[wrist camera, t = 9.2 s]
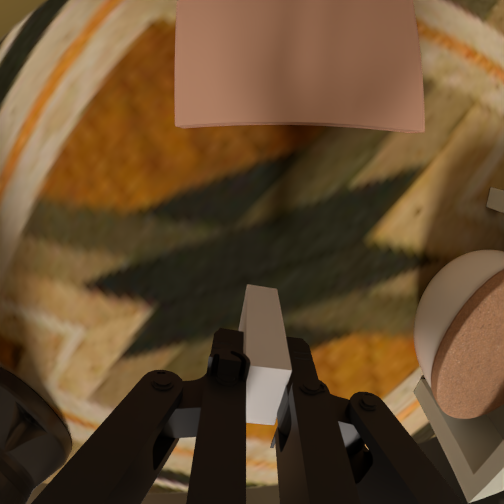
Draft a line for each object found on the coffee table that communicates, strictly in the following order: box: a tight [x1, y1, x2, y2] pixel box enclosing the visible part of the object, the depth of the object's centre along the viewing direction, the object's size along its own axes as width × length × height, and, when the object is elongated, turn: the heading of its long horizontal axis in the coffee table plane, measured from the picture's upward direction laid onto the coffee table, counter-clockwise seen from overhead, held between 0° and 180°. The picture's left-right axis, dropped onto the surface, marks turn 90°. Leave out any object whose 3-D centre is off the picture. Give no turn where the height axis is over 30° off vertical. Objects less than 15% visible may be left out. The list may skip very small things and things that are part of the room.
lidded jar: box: [414, 249, 504, 419], centre depth 17 cm, size 11×11×9 cm
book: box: [175, 0, 425, 133], centre depth 16 cm, size 14×10×2 cm
